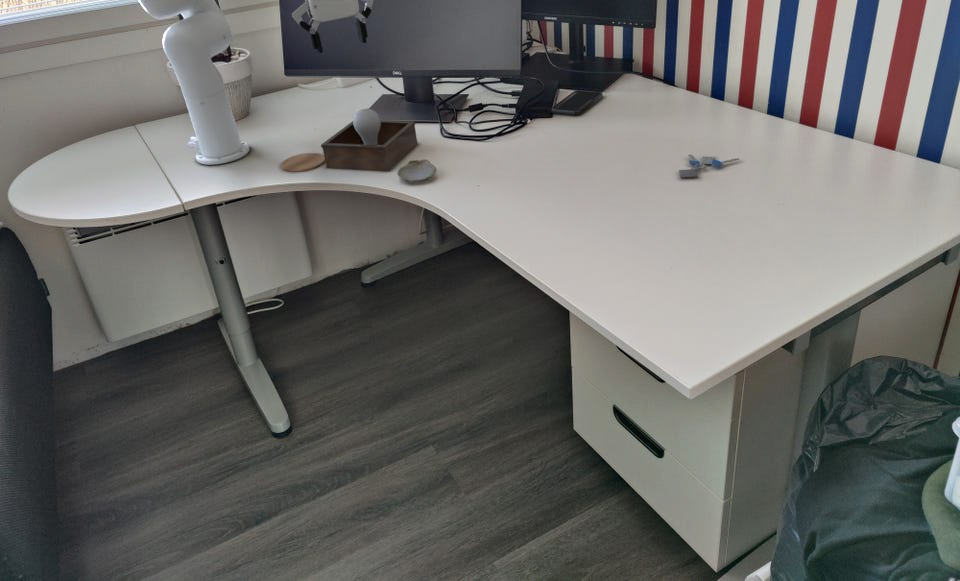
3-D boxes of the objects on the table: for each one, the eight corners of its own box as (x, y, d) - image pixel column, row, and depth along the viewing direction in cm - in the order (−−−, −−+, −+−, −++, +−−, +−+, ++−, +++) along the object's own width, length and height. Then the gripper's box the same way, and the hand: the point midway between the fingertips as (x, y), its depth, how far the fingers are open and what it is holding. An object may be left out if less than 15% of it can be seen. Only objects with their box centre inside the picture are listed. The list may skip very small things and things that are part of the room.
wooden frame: (325, 168, 166) (320, 144, 163) (358, 141, 178) (354, 119, 175) (388, 171, 161) (384, 147, 158) (418, 144, 173) (415, 121, 170)
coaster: (273, 170, 168) (272, 169, 168) (296, 153, 176) (296, 152, 175) (311, 173, 164) (310, 171, 164) (333, 155, 172) (332, 154, 172)
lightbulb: (389, 157, 168) (381, 110, 162) (363, 163, 166) (354, 116, 160) (382, 148, 173) (374, 102, 167) (357, 154, 171) (348, 108, 165)
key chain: (688, 181, 142) (688, 177, 141) (658, 169, 148) (658, 165, 147) (740, 161, 147) (740, 157, 147) (709, 150, 153) (709, 146, 153)
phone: (549, 108, 181) (576, 89, 192) (550, 113, 182) (576, 94, 192) (579, 111, 177) (604, 92, 188) (579, 116, 178) (604, 96, 188)
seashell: (400, 192, 155) (434, 184, 152) (393, 181, 153) (428, 172, 150) (408, 170, 161) (441, 162, 158) (402, 159, 159) (435, 150, 156)
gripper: (358, -49, 153) (374, 35, 162) (276, -34, 148) (297, 52, 157) (369, -47, 147) (385, 41, 156) (285, -31, 142) (306, 59, 151)
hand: (341, 46), depth 157 cm, fingers open, 9 cm apart
